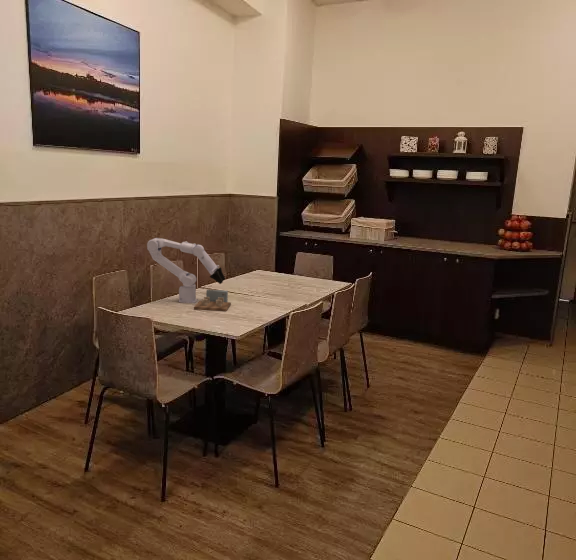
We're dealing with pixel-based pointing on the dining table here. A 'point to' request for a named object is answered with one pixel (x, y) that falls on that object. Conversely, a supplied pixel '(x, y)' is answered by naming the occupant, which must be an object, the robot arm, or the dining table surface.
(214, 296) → the grey block
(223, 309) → the cabinet base
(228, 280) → the dining table surface
